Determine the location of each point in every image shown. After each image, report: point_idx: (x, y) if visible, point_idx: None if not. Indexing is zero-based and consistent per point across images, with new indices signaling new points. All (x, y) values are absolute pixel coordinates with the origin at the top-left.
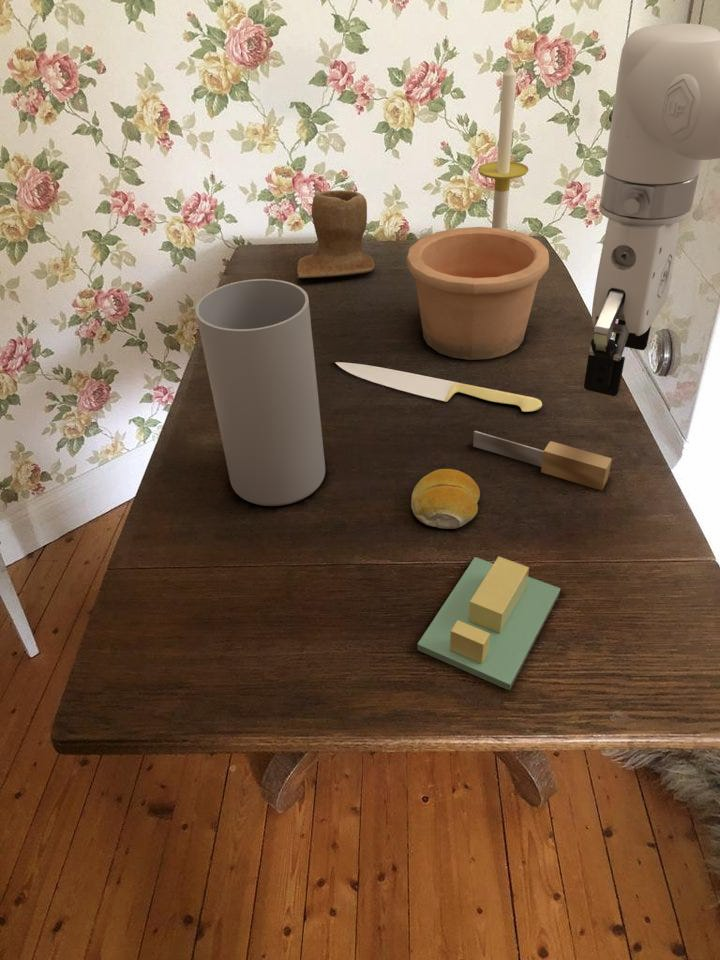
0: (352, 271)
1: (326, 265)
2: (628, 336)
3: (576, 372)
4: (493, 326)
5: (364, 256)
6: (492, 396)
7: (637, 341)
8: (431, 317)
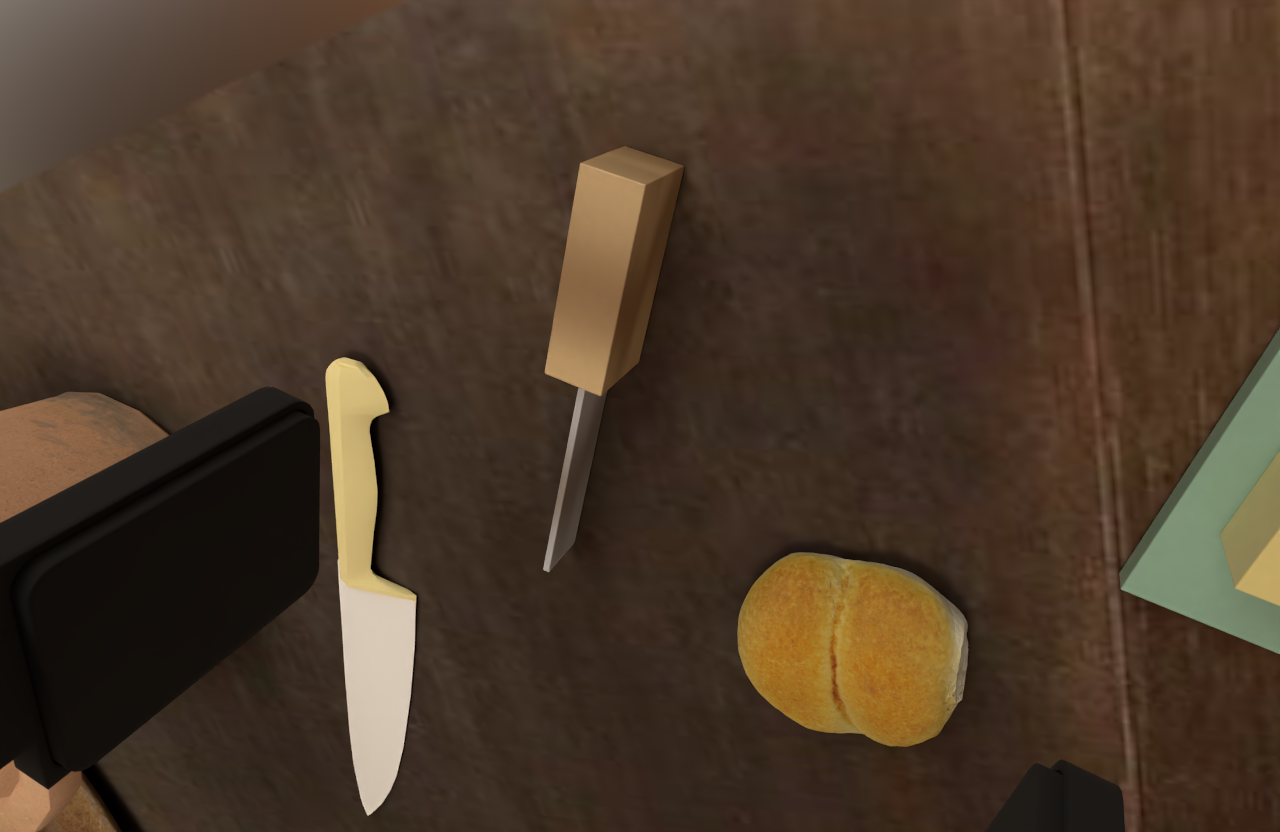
0: None
1: (76, 822)
2: (250, 567)
3: (161, 245)
4: None
5: None
6: (361, 492)
7: (269, 492)
8: None
